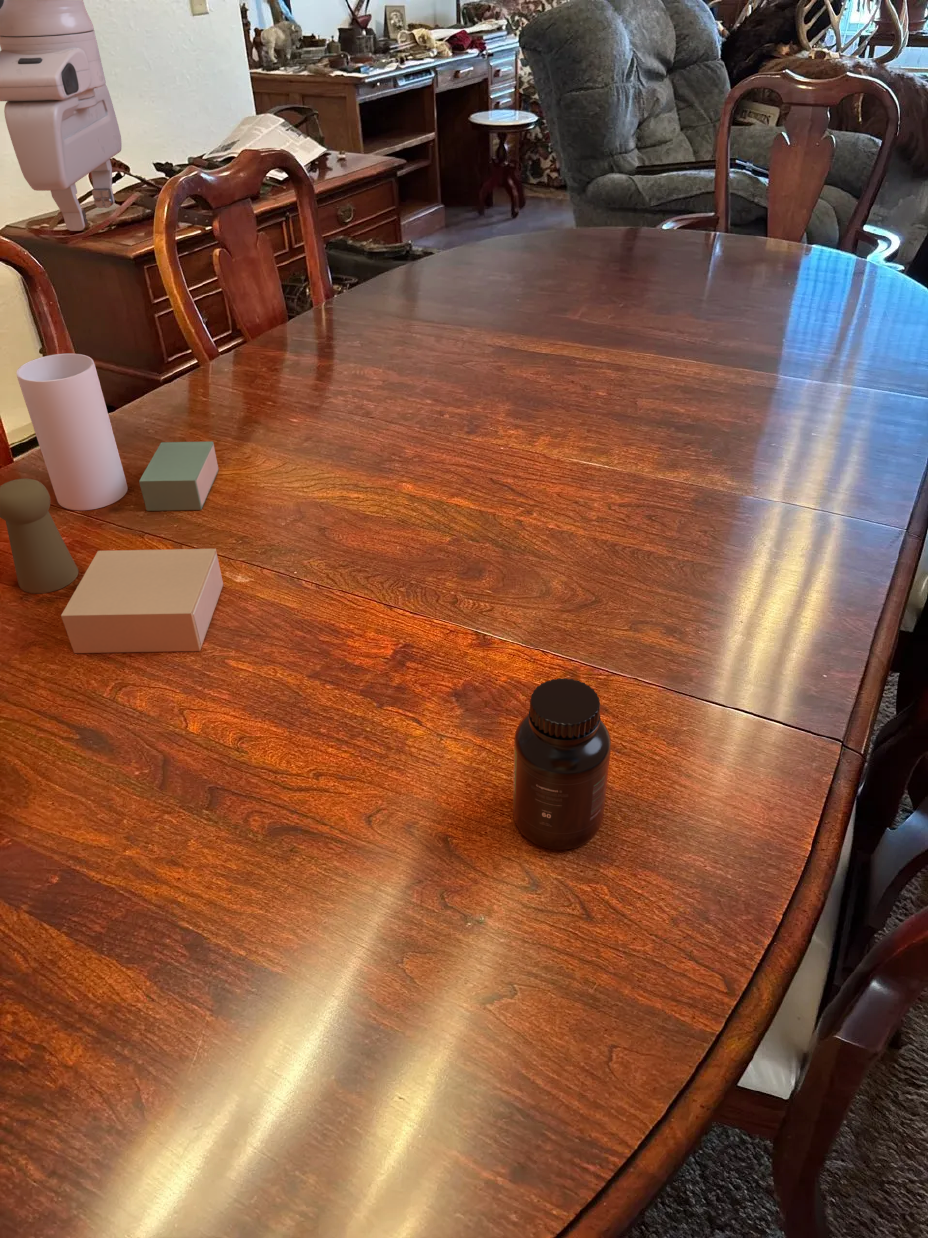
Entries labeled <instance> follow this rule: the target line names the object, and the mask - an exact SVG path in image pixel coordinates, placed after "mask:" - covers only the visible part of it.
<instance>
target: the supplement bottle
mask: <svg viewBox="0 0 928 1238" xmlns="http://www.w3.org/2000/svg"><path fill="white" fill-rule="evenodd" d="M600 711H601V702H600V696H598V693H597V692H595V690H594V688H592V687H591V686H590V685H588V684H586V683H585V682H582V681H580V680H578V679H577V680H576V679H573V678H560V677H559V678H554V679H553V678H552V679H551V680H546V681H544V682H542V683H541V684H540V685H538V686H536V688H535V689H534V690H533V691H532V693H531V695H530V700H529V709H528V713H527V714H526V715H525V716H524V717H523V718H522V719H521V721H520V722H519V724H518V725H517V727H516V730H515V733H514V743H513V781H512V782H513V785H512V787H513V788H512V815H513V820H514V823H515V825H516V827H517V829H518V831H519V832H520V833H521V834H522V835H523V836H524V837H525V838H526V839H527V840H529V841H530V842H531V843H533V844H535V845H537V846H539V847H541V848H544V849H549V850H555V851H567V850H572V849H575V848H576V849H577V848H579V847H582V846H584V845H585V844H587V843H588V842H590V841H591V840H593V839H594V837H595V836H596V835H597V834H598V832H599V831H600V829H601V826H602V824H603V819H604V813H605V806H606V796H607V786H608V780H609V779H608V776H609V770H610V769H609V768H610V759H611V751H612V750H611V749H612V741H611V740H612V739H611V735H610V732H609V730H608V728H607V725H605V723H604V722H603V721H602V719H601V712H600Z"/></svg>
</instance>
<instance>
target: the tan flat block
mask: <svg viewBox="0 0 928 1238" xmlns="http://www.w3.org/2000/svg"><path fill="white" fill-rule="evenodd" d="M221 571H222V570H221V566H220V562H219V556H218V553H217V548H177V549H176V548H175V549H172V548H171V549H169V548H168V549H123V550H122V549H120V550H119V549H118V550H115V549H114V550H113V549H112V550H111V549H110V550H97V552H96V553H95V555H94V557H93V559H92V560H91V562H90V564H89V566H88V567H87V569H86V571H85V572H84V574H83V576H82V578H81V580H80V581H79V583H78V585H77V586H76V588H75V590H74V592H73V593H72V595H71V597H70V599H69V600H68V602H67V605H66V606H65V608H64V609H63V611H62V613H61V614H60V617H61V620H62V623H63V626H64V629H65V631H66V634H67V637H68V640H69V643H70V645H71V649H72V652H73V653H74V654H108V653H109V654H110V653H114V654H115V653H157V652H158V653H165V652H166V653H169V652H200V651H201V649H202V648H203V647H202V646H203V644H204V642H205V638H206V635H207V633H208V630H209V628H210V625H211V621H212V618H213V616H214V613H215V609H216V608H217V604H218V601H219V598H220V596H221V592H222V591H223V588H224V581H223V576H222V575H223V574H222V572H221Z"/></svg>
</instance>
